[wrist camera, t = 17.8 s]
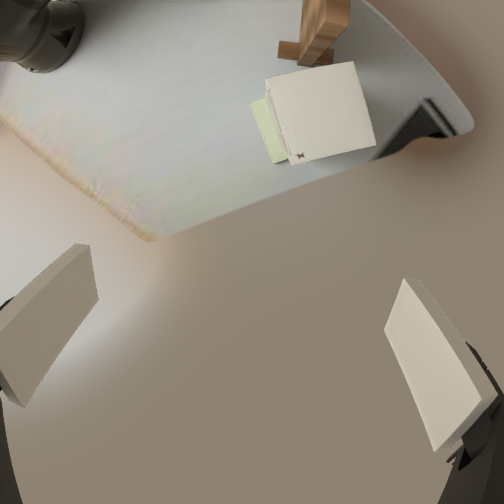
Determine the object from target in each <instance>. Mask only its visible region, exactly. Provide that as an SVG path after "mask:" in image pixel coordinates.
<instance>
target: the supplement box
mask: <svg viewBox="0 0 504 504" xmlns="http://www.w3.org/2000/svg"><path fill="white" fill-rule="evenodd" d="M265 97H266V101H267V104H268V107H269V110H270V113H271V116H272V120H273V123H274V126H275V129H276V132H277V135H278V138H279V142H280V145H281V148H282V150H283V152H284V153H285V155H286V156H287V158H288V160H289V161H290V163H291V164H292V165H296V164H300V163H304V162H308V161H312V160H316V159H320V158H324V157H328V156H332V155H336V154H340V153H344V152H349V151H353V150H357V149H362V148H367V147H371V146H376V145H377V143H376V139H375V135H374V130H373V126H372V122H371V118H370V115H369V111H368V107H367V104H366V100H365V97H364V93H363V90H362V86H361V83H360V80H359V77H358V73H357V70H356V67H355V64H354V61H350V62H344V63H338V64H332V65H326V66H321V67H315V68H310V69H306V70H301V71H296V72H291V73H287V74H283V75H279V76H274V77H270V78H267V79H266V95H265Z"/></svg>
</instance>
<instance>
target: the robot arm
mask: <svg viewBox="0 0 504 504" xmlns="http://www.w3.org/2000/svg"><path fill="white" fill-rule="evenodd" d="M83 28H84V15H83V12H82V10H81V8H80V7H79V6H78V5H77V4H75V3H72V2H70V1H67V0H57V1H51V0H0V61H4V62H16V63H17V64H19V65H20V66H22V67H23V68H25V69H26V70H28V71H30V72H34V73H47V72H51V71H53V70H55V69H57V68H58V67H59V66H61V65H62V64H63V63H64V62H65V61H66V60H67V59H68V58H69V57H70V56H71V54H72V53H73V52H74V50H75V48H76V47H77V45H78V43H79V41H80V39H81V36H82V33H83ZM97 301H98V295H97V289H96V284H95V278H94V272H93V266H92V259H91V252H90V245H83V244H74V245H73V246H72V247H71V248H70V249H68V250H67V251H66V252H65V253H63V254H62V255H61V256H60V257H59V258H58V259H56V260H55V261H54V262H53V263H52V264H50V266H48V267H47V268H46V269H45V270H43V271H42V272H41V273H40V274H39V275H38V276H37V277H36V278H35V279H33V280H32V281H31V282H30V283H29V284H28V285H27V286H26V287H25V288H24V289H23V290H21V291H20V292H19V293H18V294H17V295H16V296H15V297H13V298H11V299H10V300H8V301H6V302H5V303H4V304H3V305H2V306H1V307H0V391H1V390H3V392H4V393H5V395H6V396H7V397H8V399H9V401H11V402H13V403H15V404H17V405H19V406H21V407H23V408H25V406H26V405H27V403H28V401H29V400H30V398H31V396H32V395H33V393H34V391H35V390H36V388H37V387H38V385H39V384H40V382H41V381H42V379H43V377H44V376H45V374H46V373H47V371H48V370H49V368H50V367H51V365H52V364H53V362H54V361H55V359H56V358H57V356H58V355H59V354H60V352H61V351H62V349H63V348H64V346H65V345H66V343H67V342H68V341H69V339H70V338H71V337H72V335H73V334H74V332H75V331H76V330H77V328H78V327H79V325H80V324H81V323H82V321H83V320H84V319H85V317H86V316H87V315H88V313H89V312H90V311H91V309H92V308H93V307H94V305H95V304H96V303H97ZM384 331H385V333H386V336H387V338H388V340H389V342H390V344H391V346H392V348H393V351H394V353H395V355H396V357H397V360H398V362H399V364H400V366H401V369H402V371H403V373H404V376H405V378H406V380H407V383H408V385H409V387H410V390H411V392H412V395H413V397H414V400H415V402H416V405H417V407H418V410H419V412H420V414H421V418H422V420H423V423H424V425H425V428H426V431H427V434H428V436H429V439H430V442H431V445H432V448H433V450H434V452H437V451H441V450H444V449H447V448H451V447H452V446H453V445H454V444H455V443H456V442H457V441H458V440H459V439H460V438H462V440H463V443H464V444H463V445H462V446H461V447H460V448H459V449H458V450H457V451H456V452H454V453H453V454H452V455H451V456H450V457H449V458H448V460H447V463H449V462H450V461H451V460H452V459H454V458H455V457H456V459H455V462H454V463H452V465H453V468H452V470H451V473H450V475H449V478H448V481H447V483H446V486H445V488H444V490H443V493H442V495H441V497H440V500H439V502H438V504H504V394H503V392H502V391H501V389H500V387H499V386H498V384H497V382H496V381H495V379H494V378H493V376H492V374H491V373H490V371H489V370H487V367H486V365H485V364H484V362H482V359H481V357H480V356H479V354H478V353H477V352H476V350H475V349H474V348H472V346H470V345H469V344H468V343H467V342H465V341H464V340H463V339H462V337H461V336H460V334H459V333H458V331H457V330H456V328H455V327H454V326H453V324H452V323H451V322H450V320H449V319H448V317H447V316H446V315H445V313H444V312H443V311H442V309H441V308H440V307H439V305H438V304H437V303H436V301H435V300H434V299H433V297H432V296H431V295H430V294H429V292H428V291H427V290H426V289H425V287H424V286H423V285H422V284H421V282H420V281H419V280H418V279H409V278H404V279H403V281H402V285H401V287H400V290H399V293H398V296H397V298H396V301H395V303H394V306H393V309H392V311H391V314H390V317H389V319H388V321H387V324H386V326H385V329H384ZM0 504H23V503H22V500H21V497H20V494H19V490H18V487H17V483H16V479H15V475H14V471H13V468H12V463H11V458H10V454H9V449H8V443H7V438H6V432H5V425H4V418H3V410H2V402H1V398H0Z"/></svg>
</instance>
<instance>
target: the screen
mask: <svg viewBox="0 0 504 504" xmlns="http://www.w3.org/2000/svg"><path fill="white" fill-rule="evenodd" d="M349 9H350V0H303V8H302V19H301V30H300V40H299V43H293V42H286V41H280V42H279V49H278V58H284V59H291V60H297V65H300V66H306V67H311V66H312V64H313V63H317V64H322V65H332V64H333V55H334V49H329V48H328V47H329V46H330V45H331V44H332V43H333V42H334V41H335V40H336V39H337V38H338V37H339V36H340V34H341V33H342V32H343V31H344V30H345V29H346V28H347V27H348V26H349Z"/></svg>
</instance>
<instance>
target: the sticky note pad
mask: <svg viewBox="0 0 504 504" xmlns="http://www.w3.org/2000/svg"><path fill="white" fill-rule="evenodd" d="M249 105H250V107H251V110H252V112H253V115H254V117H255V119H256V122H257V124H258V127H259V129H260V132H261V134H262V137H263V139H264V142H265V144H266V147H267V149H268V152H269V154H270V157H271V160H272V162H273V164H274V163H277V162H280V161H283V160H286V159H288V158H287V156H286V155H285V153H284V152H283V150H282V148H281V145H280V142H279V138H278V135H277V132H276V129H275V126H274V123H273V120H272V116H271V113H270V110H269V107H268V104H267V101H266V97H265V98H263V99H260V100H257V101H254V102H252V103H249Z"/></svg>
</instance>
